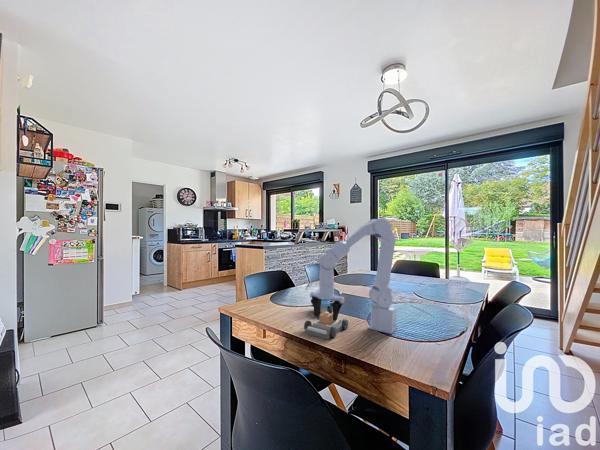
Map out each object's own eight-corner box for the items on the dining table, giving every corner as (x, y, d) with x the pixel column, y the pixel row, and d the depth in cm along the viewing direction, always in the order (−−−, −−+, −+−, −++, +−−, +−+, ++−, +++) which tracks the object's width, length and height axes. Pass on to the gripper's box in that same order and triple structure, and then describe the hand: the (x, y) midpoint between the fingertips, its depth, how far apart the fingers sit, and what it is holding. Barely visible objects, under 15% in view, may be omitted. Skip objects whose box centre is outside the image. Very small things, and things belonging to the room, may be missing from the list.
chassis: (349, 326, 105) (349, 317, 106) (330, 340, 92) (330, 330, 92) (322, 320, 113) (322, 312, 113) (302, 332, 99) (302, 322, 99)
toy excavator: (331, 306, 134) (331, 273, 134) (332, 316, 118) (332, 279, 118) (314, 305, 135) (315, 272, 135) (313, 316, 118) (313, 278, 119)
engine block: (333, 325, 103) (333, 312, 103) (328, 328, 99) (328, 314, 100) (324, 323, 105) (324, 310, 105) (319, 326, 102) (319, 312, 102)
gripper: (305, 283, 104) (305, 317, 103) (338, 288, 95) (338, 325, 95) (315, 280, 109) (314, 312, 109) (346, 284, 101) (346, 319, 101)
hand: (326, 318), depth 103 cm, fingers open, 7 cm apart
